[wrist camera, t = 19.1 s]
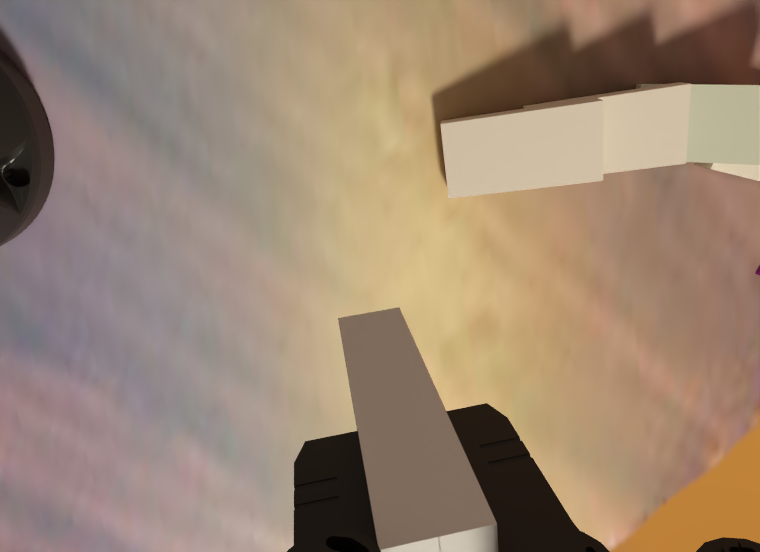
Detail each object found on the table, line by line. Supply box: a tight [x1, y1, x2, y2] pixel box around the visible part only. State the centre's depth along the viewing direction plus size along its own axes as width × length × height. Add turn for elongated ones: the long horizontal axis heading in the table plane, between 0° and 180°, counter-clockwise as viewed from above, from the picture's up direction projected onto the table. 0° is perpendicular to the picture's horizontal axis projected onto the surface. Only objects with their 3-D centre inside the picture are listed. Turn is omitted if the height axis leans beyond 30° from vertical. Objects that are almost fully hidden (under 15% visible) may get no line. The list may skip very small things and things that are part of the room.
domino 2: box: [523, 82, 691, 174], centre depth 35 cm, size 2×5×10 cm
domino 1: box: [440, 98, 604, 198], centre depth 34 cm, size 2×5×10 cm
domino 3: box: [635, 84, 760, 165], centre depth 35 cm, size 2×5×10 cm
